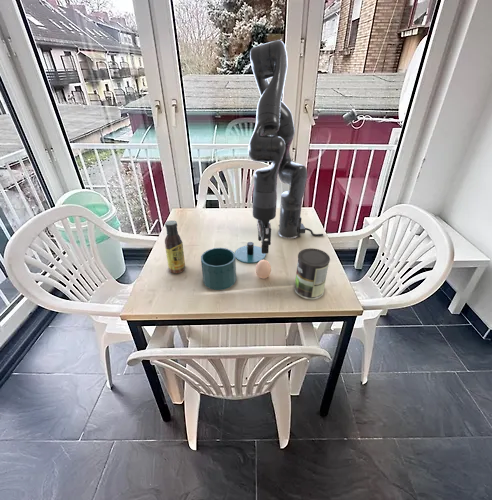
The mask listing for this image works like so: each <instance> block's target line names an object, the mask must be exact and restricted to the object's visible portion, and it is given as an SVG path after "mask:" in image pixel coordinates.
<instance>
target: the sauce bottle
mask: <svg viewBox="0 0 492 500" xmlns="http://www.w3.org/2000/svg"><path fill="white" fill-rule="evenodd" d="M164 224H165V225H164V227H165V228H166V229H165V230H166V236H165V238H164V247H165V253H166V262H167V267H168V271H169V272H170V273H172V274H180V273H182V272H184V270H185V268H186V260H185V253H184V252H185V251H184V244H183V241H182V238H181V236H180V234H179V231H178V222H177V221H176V220H167V221H165V222H164Z"/></svg>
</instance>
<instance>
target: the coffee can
mask: <svg viewBox="0 0 492 500" xmlns="http://www.w3.org/2000/svg"><path fill="white" fill-rule="evenodd" d="M330 257H331V256H330V255H329V254H328V253H327V252H325V251H324V250H321V249H318V248H311V247H310V248H303V249H302V250H300V251H299V252H298V253H297V265H296V274H295V282H294V292H295V294H296V295H298V296H299V297H300V298H302V299H305V300H318V299H319V298H321V297H322V296H323V295H324V292H325V286H326V281H327V276H328V271H329V265H330V261H331V258H330Z"/></svg>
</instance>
